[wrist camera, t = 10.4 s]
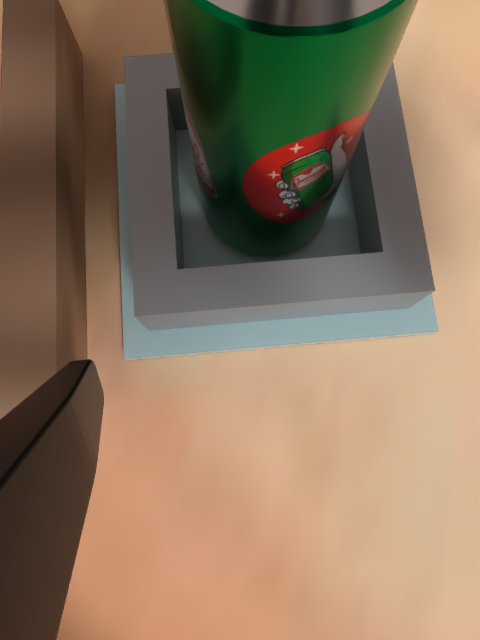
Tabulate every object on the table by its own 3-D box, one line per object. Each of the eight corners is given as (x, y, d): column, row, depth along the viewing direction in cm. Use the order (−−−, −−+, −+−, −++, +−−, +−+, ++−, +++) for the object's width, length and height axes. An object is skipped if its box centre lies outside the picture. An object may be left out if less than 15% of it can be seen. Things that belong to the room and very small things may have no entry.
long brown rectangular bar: (88, 415, 17) (56, 415, 14) (35, 420, 17) (-8, 421, 14) (81, 53, 21) (55, -8, 18) (37, 57, 21) (3, -3, 18)
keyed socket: (434, 333, 18) (470, 317, 15) (126, 360, 18) (104, 349, 15) (386, 69, 20) (410, 12, 18) (116, 90, 20) (96, 36, 17)
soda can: (217, 136, 19) (179, -304, 7) (336, 158, 19) (490, -260, 7) (189, 248, 18) (96, -60, 6) (315, 273, 18) (454, 0, 6)
